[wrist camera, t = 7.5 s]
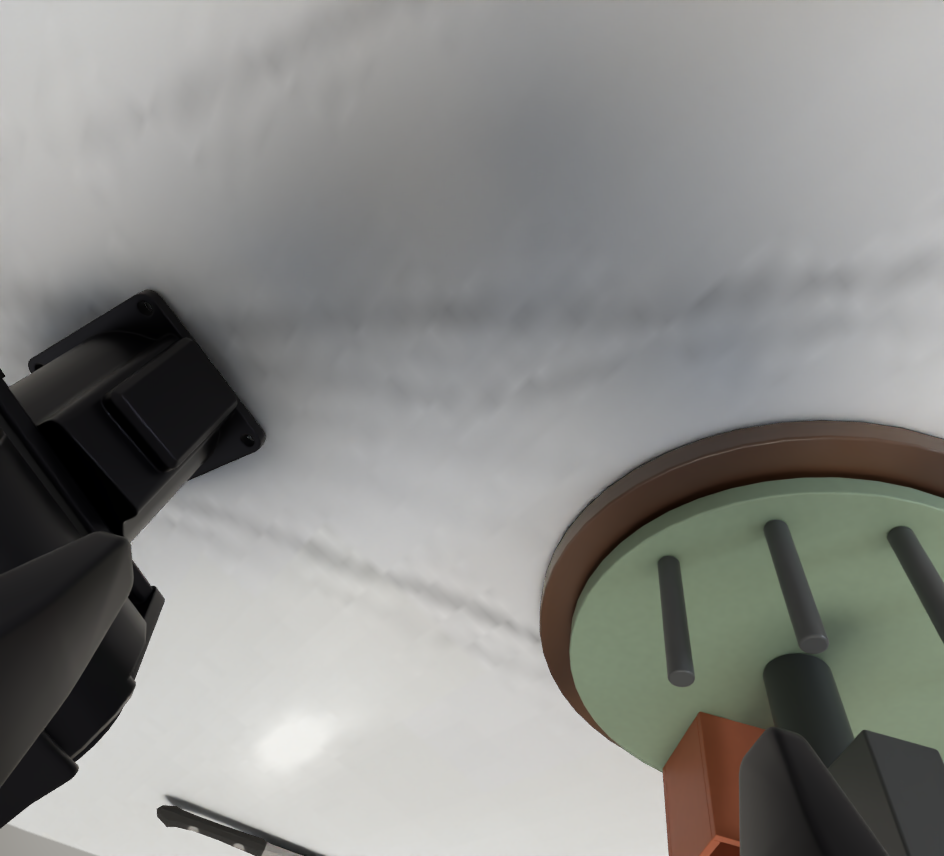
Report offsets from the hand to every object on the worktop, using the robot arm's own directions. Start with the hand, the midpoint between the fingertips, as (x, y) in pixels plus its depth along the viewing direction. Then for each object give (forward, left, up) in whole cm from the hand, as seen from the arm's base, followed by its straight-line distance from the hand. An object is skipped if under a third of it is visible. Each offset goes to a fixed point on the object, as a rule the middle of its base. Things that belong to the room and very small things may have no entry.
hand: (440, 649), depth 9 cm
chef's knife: (-29, -27, -13) cm, 41 cm away
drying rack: (+3, -15, -12) cm, 19 cm away
